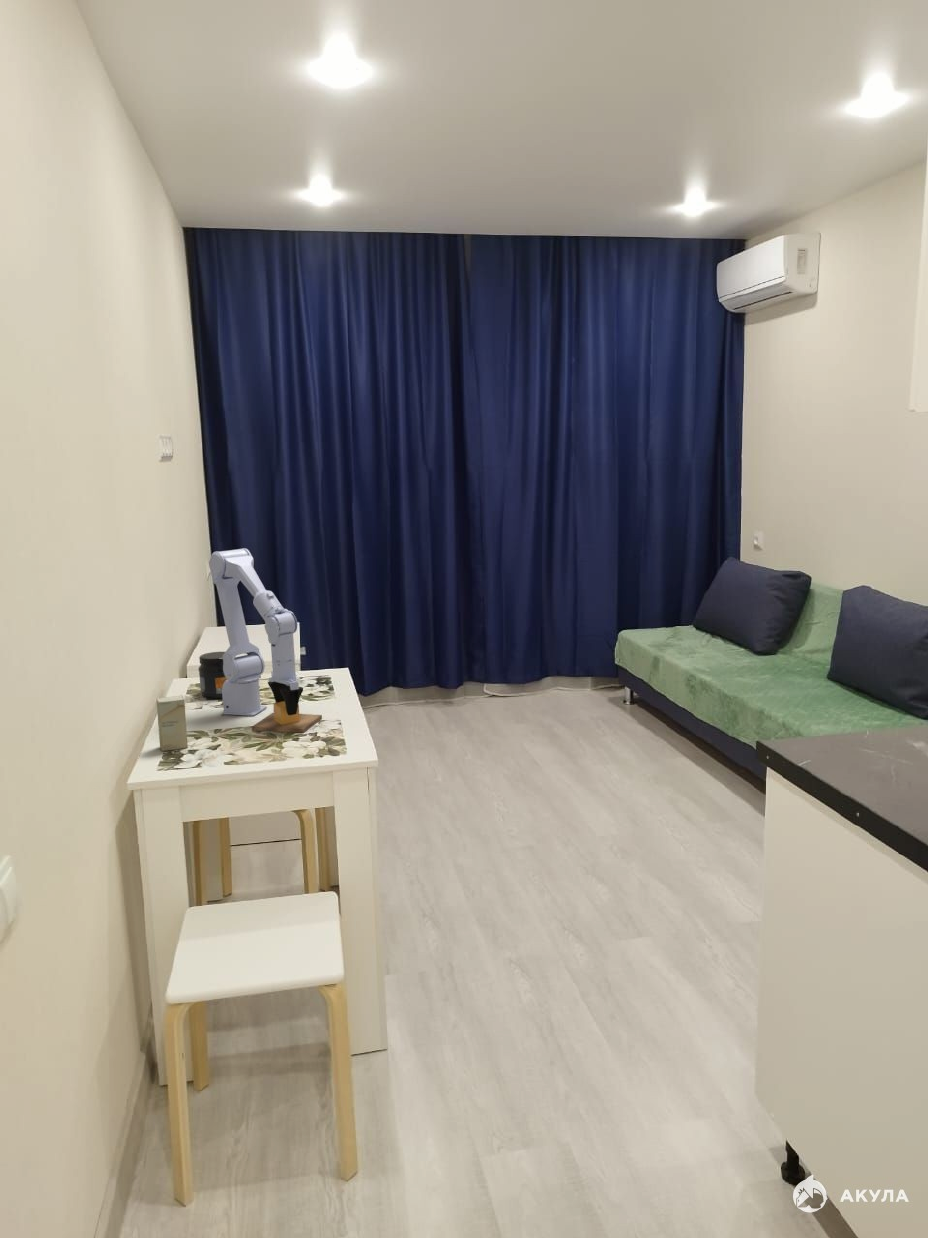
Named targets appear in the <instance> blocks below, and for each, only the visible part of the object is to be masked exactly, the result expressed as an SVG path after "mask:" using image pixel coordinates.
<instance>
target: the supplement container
mask: <svg viewBox="0 0 928 1238" xmlns="http://www.w3.org/2000/svg"><path fill="white" fill-rule="evenodd" d="M225 652H226V651H212V652H207V653H204V654H201V655H200V656H198V658H199V664H200V665H199V667H198V673H199V674H198V675H199V676H198V677H199V685H200V695H201V697H202V698H204V699H206V700H223V697H222V687H223V684H224V682H225V681H226V680H227V678H226V677H225V675H224V671H223V654H224V653H225Z"/></svg>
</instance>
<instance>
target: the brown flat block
mask: <svg viewBox="0 0 928 1238" xmlns="http://www.w3.org/2000/svg"><path fill="white" fill-rule="evenodd" d="M299 716H300V721H299V722H293V723H288V724H283V725H281V724H279V723H278V722H277V721H275V719H274V712H271V713H269V714H268V715H267V716H266V717H264V718H262V719H261V720H260V721H258V722H257V723H255V724H253V725H252V726H251V730H252V731H257V732H258V731H260V732H262V731H263V732H275V733H276V732H280V733H299V734H304V733H305V732H307V731H308V730H309V729H310V728H312V727H313V726H315V725H316V724H317V723H318V722H320V721H321V720H322V719H323V715H322V714H311V713H310V714H307V713H306V714H305V713H299Z"/></svg>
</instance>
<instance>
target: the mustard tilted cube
mask: <svg viewBox="0 0 928 1238" xmlns="http://www.w3.org/2000/svg"><path fill="white" fill-rule="evenodd" d="M272 706H273V713H274V719H275V721H277V722H278V723H279V724H281V725H283V724H288V723H293V722H299V721H300V716H299V714H300V705H299V703H298V708H297V713H296V714H294V715H288V714H287V710H286V705H285V701H283V702H278V703H276V702H274V703H273V705H272Z"/></svg>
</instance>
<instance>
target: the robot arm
mask: <svg viewBox="0 0 928 1238" xmlns="http://www.w3.org/2000/svg"><path fill="white" fill-rule="evenodd" d="M254 562H255V561H254V557H253V555H252V554H251V552H250V550H249V549H248V548H246V547H245V548H244V547H242V548H238V549H231V550H230V549H229V550H222V551H219V550H218V551H217V550H216V551H214V552H212V554H211V555H210V558H209V561H208V567H209V571H210V574H211V575H210V576H211V579H212V583H213V584H215V587H216V589H217V594H218V599H219V604H220V607H221V612H222V616H223V617H222V618H223V620H224V626H225V629H226V634H227V639H228V643H229V647H228V648H227V650H226V651H224V652H225V653H224V654H223V671H224V675H225V677H226V678H227V680H226V681H225V682H224V684H223V687H222V697H223V699H222V707H223V708H222V709H223V712H222V714H223V715H229V716H230V715H231V716H232V715H235V716H251V717H253V716H256V715H258V714H259V713H260V712H262V711H264V710H265V709H266V708H268V707H267V705H261V693H260V682H259V681H260V680H259V679H262V674H264V672H265V668H266V667H265V666H266V665H265V660H264V658H263V656H262V654H261V652H260V647H258V646H257V645H255V644H253V643H251V642H250V639H249V635H248V629H247V626H246V620H245V615H244V612H243V607H242V603H241V598H240V594H239V590H238V584H239V583H240V582H241V583H242V584H243V585H244V587H245V588H246V589H247V590H248V592H249V593H250V594H251V596H252V597H253V602H252V604H253V606H254V608H255V610H257V612H258V614H259V615H260V616H261V618H262V620H264V622H265V624H264V629H265V630H264V631H265V632H266V634H267V640H268V643H269V644H270V650H271V663H272V665H271V666H272V670H271V671H270V672H271V677H269V678H268V682H267V685H268V686H269V688H270V689H271V692H272V695H273V697H274V701H275V702H274V703H278V702H283V701H285V705H286V710H287V714H288V715H294V714H296V713H297V708H298V704H299V703H300V698H301V696H302V693H303V692H304V687H303V686H300V685H299V681H298V677H297V674H296V673H297V672H296V655H295V643H294V642H295V641H294V634H295V633H296V632H297V630H298V620H297V617H296V616H295V614H294V612H292V611H291V610H288V609H287V608H284V607H283V605H282V604H281V603H280V601H279V600H278V598H277V596H276V595H275V593H274V592H273V591H272V590H267V589H266V588H265V586H264V584H263V583H262V581H261V579H260V577H259V575H258V574H257V571H256V570H255V568H254V564H255V563H254ZM240 655H241V656H240Z"/></svg>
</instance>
